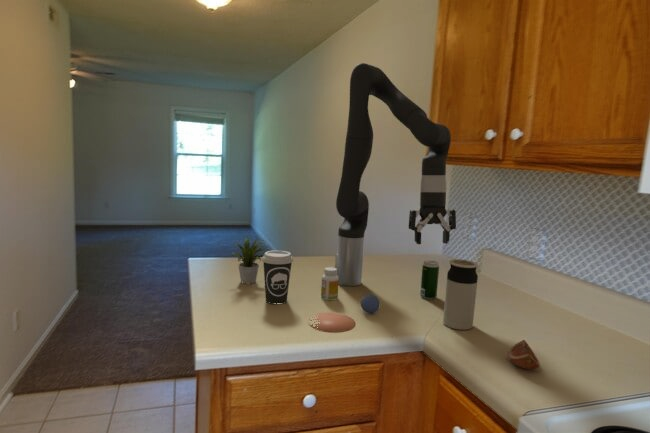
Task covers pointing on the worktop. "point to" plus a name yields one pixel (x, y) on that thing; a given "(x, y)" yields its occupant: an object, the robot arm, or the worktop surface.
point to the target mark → (334, 322)
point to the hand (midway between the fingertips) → (431, 243)
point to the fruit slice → (523, 355)
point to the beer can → (429, 279)
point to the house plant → (249, 261)
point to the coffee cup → (277, 275)
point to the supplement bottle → (329, 284)
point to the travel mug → (460, 294)
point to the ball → (370, 303)
